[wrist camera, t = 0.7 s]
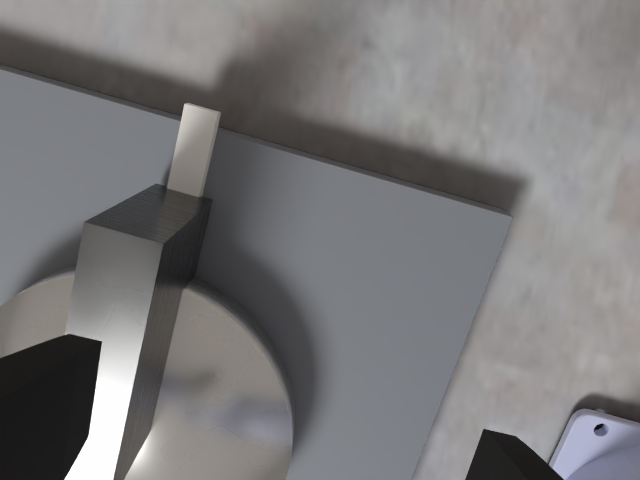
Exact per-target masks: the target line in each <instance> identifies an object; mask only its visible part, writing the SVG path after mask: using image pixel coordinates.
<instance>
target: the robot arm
mask: <svg viewBox="0 0 640 480" xmlns="http://www.w3.org/2000/svg"><path fill="white" fill-rule="evenodd" d="M101 346H102V341H99V340H94V339H90V338H86V337H81V336H77V335H73V334H67V335H63V336H60V337H56V338H53V339H51V340H48V341H45V342H42V343H39V344H37V345H34V346H31V347H29V348H26V349H23V350H21V351H18V352H15V353H13V354H10V355H7V356H4V357H2V358H0V480H65V478H66V476H67V475H68V473H69V471H70V469H71V468H72V466H73V464H74V462H75V461H76V459H77V457H78V455H79V453H80V452H81V450H82V448H83V446H84V444H85V442H86V441H87V439H88V437H89V432H90V424H91V417H92V410H93V403H94V396H95V389H96V381H97V374H98V367H99V360H100V353H101ZM598 424H603V426H602V427H601V428H600V429H598V430H594V428H595V426H596V425H598ZM465 480H640V423H638V422H634V421H631V420H627V419H624V418H620V417H616V416H613V415H609V414H605V413H602V412H598V411H595V410H591V409H580V410H578V411H576V412H575V413H574V414H573V415H572V416H571V418H570V420H569V422H568V424H567V426H566V429H565V431H564V433H563V435H562V437H561V439H560V441H559V444H558V446H557V448H556V450H555V452H554V454H553V456H552V459H551V461H550V463H549V465H548V464H547V463H546V462H545V461H544V460H543V459H542V458H541V457H540V456H538V455H537V454H536V453H535V452H534V451H533V450H532V449H531V448H530V447H528V446H527V445H526V444H525V443H524V442H522V441H521V440H520V439H519V438H517V437H516V436H512V435H508V434H504V433H499V432H495V431H490V430H486V429H484V430H483V432H482V435H481V438H480V441H479V443H478V446H477V449H476V452H475V454H474V457H473V460H472V463H471V465H470V468H469V471H468V474H467V477H466V479H465Z"/></svg>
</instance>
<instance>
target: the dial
mask: <svg viewBox="0 0 640 480" xmlns="http://www.w3.org/2000/svg"><path fill="white" fill-rule="evenodd" d="M212 201H213V199H209V198H206V197H202V196H200V197H196V196H193V195H189V194H185V193H182V192H178V191H175V190H171V189H168V188H167V186H163V185H160V184H154V185H152V186H150V187H149V188H147V189H145V190H143V191H141V192H139V193H137V194H135V195H134V196H132V197H130V198H128V199H126V200H124V201H122V202H120V203H119V204H117V205H115V206H113V207H111V208H109V209H107V210H105V211H104V212H102V213H100V214H98V215H96V216H94V217H92V218H90V219H89V220H87V221H85V222H84V224H83V230H82V236H81V242H80V248H79V254H78V260H77V265H74V266H71V267H68V268H65V269H61V270H59V271H57V272H55V273H53V274H50V275H48V276H46V277H44V278H42V279H40V280H39V281H37V282H36V283H34V284H33V285H31V286H30V287H28V288H27V289H25V290H24V291H22V292H20V293H19V294H17V295H16V296H14V297H13V298H11V299H10V300H8V301H7V302H5V303H4V304H2V305H1V306H0V358H2V357H4V356H7V355H10V354H13V353H15V352H18V351H21V350H23V349H26V348H29V347H31V346H34V345H37V344H39V343H42V342H45V341H48V340H51V339H53V338H56V337H60V336H63V335H67V334H73V335H77V336H81V337H86V338H90V339H94V340H99V341H102V346H101V353H100V360H99V367H98V374H97V381H96V389H95V396H94V403H93V410H92V417H91V424H90V432H89V437H88V439H87V441H86V442H85V444H84V446H83V448H82V450H81V452H80V453H79V455H78V457H77V459H76V461H75V462H74V464H73V466H72V468H71V469H70V471H69V473H68V475H67V476H66V478H65V480H286V478H287V473H288V469H289V465H290V459H291V452H292V444H293V436H294V425H295V406H294V395H293V391H292V386H291V382H290V378H289V375H288V372H287V370H286V367H285V364H284V362H283V359H282V357H281V356H280V354H279V352H278V350H277V348H276V346H275V344H274V343H273V341H272V340H271V338H270V337H269V336H268V334H267V333H266V331H265V330H264V329H263V327H262V326H261V325H260V323H259V322H258V321H257V320H256V319H255V318H254V317H253V316H252V315H251V314H250V313H249V312H248V311H247V310H246V309H245V308H244V307H243V306H242V305H240V304H239V303H238V302H237V301H236V300H234V299H233V298H232V297H231V296H230V295H228V294H227V293H225V292H224V291H222V290H220V289H219V288H217V287H216V286H214V285H213V284H211V283H209V282H207V281H205V280H203V279H201V278H199V277H197V276H195V274H196V270H197V265H198V261H199V257H200V253H201V248H202V244H203V240H204V236H205V231H206V227H207V223H208V218H209V214H210V210H211V206H212Z"/></svg>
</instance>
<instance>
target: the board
mask: <svg viewBox="0 0 640 480" xmlns="http://www.w3.org/2000/svg"><path fill="white" fill-rule="evenodd" d="M220 116H221V112H218V111H215V110H212V109H208V108H205V107H201V106H198V105H194V104H191V103H185V104H184V109H183V113H182V116H179V115H175V114H172V113H168V112H165V111H161V110H158V109H154V108H151V107H147V106H144V105H141V104H137V103H134V102H130V101H127V100H123V99H120V98H116V97H113V96H109V95H106V94H102V93H99V92H96V91H92V90H89V89H85V88H82V87H78V86H75V85H71V84H68V83H64V82H61V81H57V80H54V79H51V78H47V77H44V76H40V75H37V74H33V73H30V72H26V71H23V70H19V69H16V68H12V67H9V66H6V65H2V64H0V306H1V305H2V304H4V303H5V302H7V301H8V300H10V299H11V298H13V297H14V296H16V295H17V294H19V293H20V292H22V291H24V290H25V289H27V288H28V287H30V286H31V285H33V284H34V283H36V282H37V281H39V280H40V279H42V278H44V277H46V276H48V275H50V274H53V273H55V272H57V271H59V270H61V269H65V268H68V267H71V266H74V265H77V260H78V254H79V248H80V242H81V236H82V230H83V224H84V222H85V221H87V220H89V219H90V218H92V217H94V216H96V215H98V214H100V213H102V212H104V211H105V210H107V209H109V208H111V207H113V206H115V205H117V204H119V203H120V202H122V201H124V200H126V199H128V198H130V197H132V196H134V195H135V194H137V193H139V192H141V191H143V190H145V189H147V188H149V187H150V186H152V185H154V184H160V185H163V186H167V188H168V189H171V190H175V191H178V192H182V193H185V194H189V195H193V196H196V197H200V196H202V197H206V198H209V199H213V201H212V206H211V210H210V214H209V218H208V223H207V227H206V231H205V236H204V240H203V244H202V248H201V253H200V257H199V261H198V265H197V270H196V274H195V276H197V277H199V278H201V279H203V280H205V281H207V282H209V283H211V284H213V285H214V286H216V287H217V288H219V289H220V290H222V291H224V292H225V293H227V294H228V295H230V296H231V297H232V298H233V299H234V300H236V301H237V302H238V303H239V304H240V305H242V306H243V307H244V308H245V309H246V310H247V311H248V312H249V313H250V314H251V315H252V316H253V317H254V318H255V319H256V320H257V321H258V322H259V323H260V325H261V326H262V327H263V329H264V330H265V331H266V333H267V334H268V336H269V337H270V338H271V340H272V341H273V343H274V344H275V346H276V348H277V350H278V352H279V354H280V356H281V357H282V359H283V362H284V364H285V367H286V370H287V372H288V375H289V378H290V382H291V386H292V391H293V395H294V406H295V425H294V436H293V444H292V452H291V459H290V465H289V469H288V473H287V478H286V480H411V478H412V476H413V473H414V471H415V468H416V466H417V463H418V460H419V458H420V455H421V453H422V450H423V448H424V445H425V442H426V440H427V437H428V435H429V432H430V430H431V427H432V425H433V422H434V419H435V417H436V414H437V412H438V409H439V407H440V404H441V401H442V399H443V396H444V394H445V391H446V389H447V386H448V384H449V381H450V378H451V376H452V373H453V371H454V368H455V366H456V363H457V360H458V358H459V355H460V353H461V350H462V348H463V345H464V343H465V340H466V337H467V335H468V332H469V330H470V327H471V325H472V322H473V319H474V317H475V314H476V312H477V309H478V307H479V304H480V302H481V299H482V296H483V294H484V291H485V289H486V286H487V284H488V281H489V279H490V276H491V273H492V271H493V268H494V266H495V263H496V261H497V258H498V255H499V253H500V250H501V248H502V245H503V243H504V240H505V238H506V235H507V232H508V230H509V227H510V225H511V222H512V220H513V217H512V216H511V215H510V214H508V213H507V212H506V211H504V210H503V209H501V208H497V207H494V206H490V205H487V204H483V203H480V202H476V201H473V200H469V199H466V198H462V197H459V196H456V195H452V194H449V193H445V192H442V191H438V190H435V189H431V188H428V187H424V186H421V185H417V184H414V183H411V182H407V181H404V180H400V179H397V178H393V177H390V176H386V175H383V174H379V173H376V172H372V171H369V170H366V169H362V168H359V167H355V166H352V165H348V164H345V163H341V162H338V161H334V160H331V159H327V158H324V157H321V156H317V155H314V154H310V153H307V152H303V151H300V150H296V149H293V148H289V147H286V146H282V145H279V144H276V143H272V142H269V141H265V140H262V139H258V138H255V137H251V136H248V135H244V134H241V133H237V132H234V131H231V130H227V129H224V128H220V127H218V125H219V120H220Z"/></svg>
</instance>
